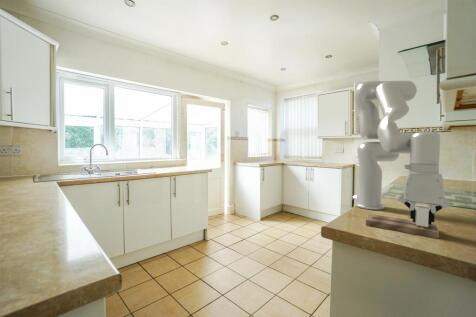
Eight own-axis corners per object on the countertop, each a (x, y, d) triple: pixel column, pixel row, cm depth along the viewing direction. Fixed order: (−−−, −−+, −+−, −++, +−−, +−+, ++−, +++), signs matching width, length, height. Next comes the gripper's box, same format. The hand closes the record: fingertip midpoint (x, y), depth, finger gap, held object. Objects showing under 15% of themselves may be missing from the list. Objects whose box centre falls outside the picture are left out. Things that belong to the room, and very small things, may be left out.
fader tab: (416, 225, 74) (416, 207, 74) (415, 221, 78) (416, 204, 78) (428, 227, 72) (428, 209, 72) (426, 223, 76) (427, 205, 76)
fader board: (365, 225, 81) (366, 219, 81) (369, 218, 88) (369, 213, 88) (438, 238, 69) (439, 232, 69) (435, 230, 76) (435, 224, 76)
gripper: (393, 168, 76) (391, 220, 77) (460, 171, 66) (457, 231, 67) (394, 167, 82) (392, 215, 83) (455, 169, 72) (453, 224, 73)
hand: (421, 222), depth 75 cm, fingers open, 3 cm apart
